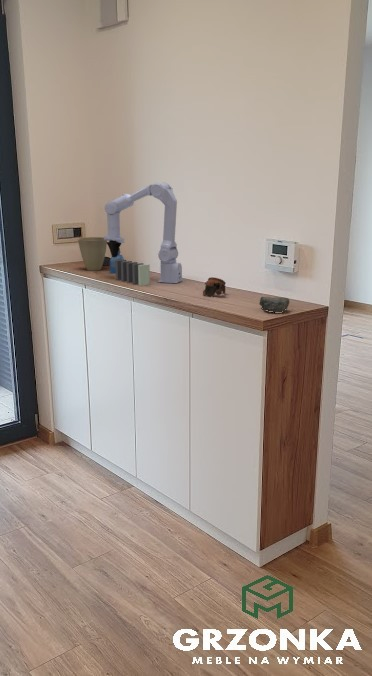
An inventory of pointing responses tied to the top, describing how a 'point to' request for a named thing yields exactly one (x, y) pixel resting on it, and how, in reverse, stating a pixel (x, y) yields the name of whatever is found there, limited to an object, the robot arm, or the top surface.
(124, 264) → the domino
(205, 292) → the brown irregular lump
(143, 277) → the domino
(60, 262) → the top surface
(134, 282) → the domino
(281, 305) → the rock
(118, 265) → the domino
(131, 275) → the domino
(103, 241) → the plant pot
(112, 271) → the perfume bottle
